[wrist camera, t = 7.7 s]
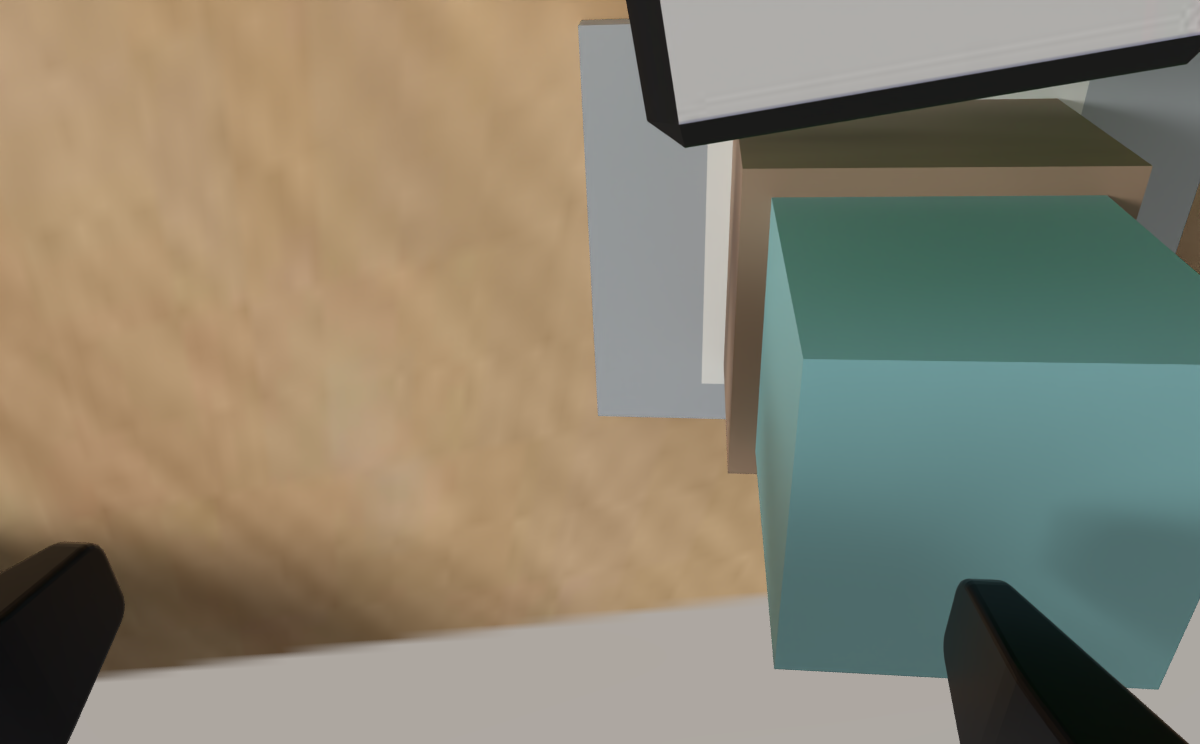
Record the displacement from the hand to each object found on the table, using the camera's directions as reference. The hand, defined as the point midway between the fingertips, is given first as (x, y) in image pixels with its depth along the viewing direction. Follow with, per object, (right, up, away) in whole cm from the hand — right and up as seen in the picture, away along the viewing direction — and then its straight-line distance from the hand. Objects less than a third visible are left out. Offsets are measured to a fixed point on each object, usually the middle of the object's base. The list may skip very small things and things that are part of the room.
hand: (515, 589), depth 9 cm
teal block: (+6, +3, +5) cm, 9 cm away
